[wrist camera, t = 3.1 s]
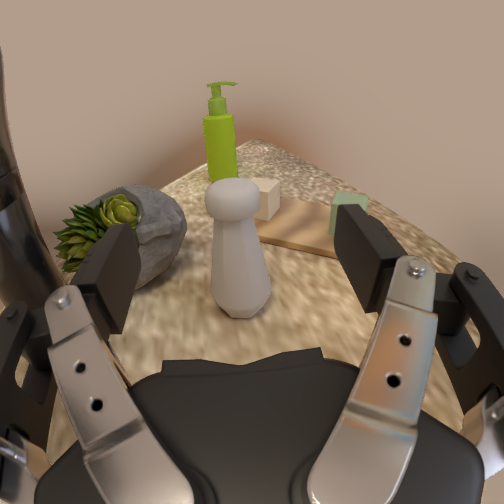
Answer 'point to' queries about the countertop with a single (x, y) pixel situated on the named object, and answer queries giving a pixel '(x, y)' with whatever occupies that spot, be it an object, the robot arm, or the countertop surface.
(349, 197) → the sage green cube
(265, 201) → the beige matte cube
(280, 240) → the wood board
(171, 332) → the countertop surface
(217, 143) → the soap dispenser
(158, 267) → the potted plant
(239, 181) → the salt shaker
